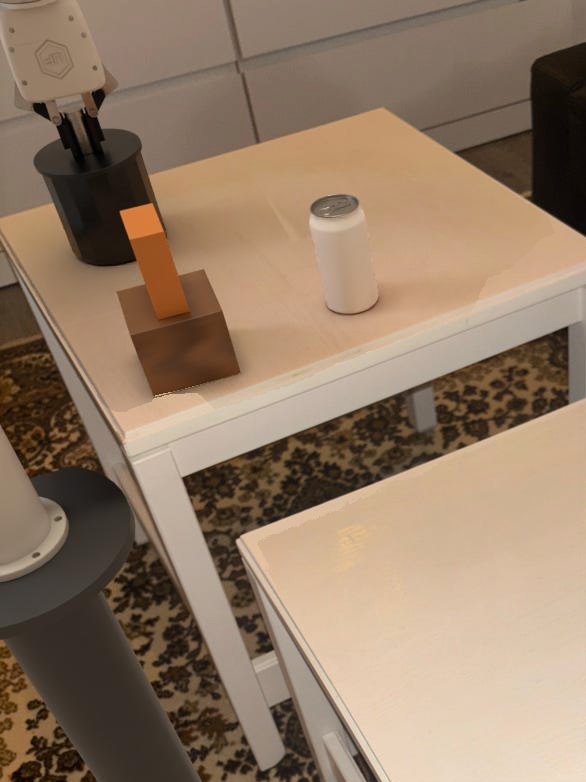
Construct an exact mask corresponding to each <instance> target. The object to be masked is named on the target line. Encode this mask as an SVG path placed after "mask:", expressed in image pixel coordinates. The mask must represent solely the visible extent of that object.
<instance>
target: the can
mask: <svg viewBox="0 0 586 782" xmlns="http://www.w3.org/2000/svg"><path fill="white" fill-rule="evenodd" d="M309 211H310V216H309V219H308V220H309V221H308V223H309V231H310V234H311V235H310V236H311V239H312V244H313V248H314V249H313V250H314V252H315V253H314V254H315V257H316V262H317V267H318V272H319V277H320V281H321V287H322V291H323V295H324V300H325V304H326V306H327V308H328V309H330V310H331V311H332V312H335V313H337V314H340V315H356V314H361V313H364V312H367V311H368V310H370V309H371V308H373V307H374V306H375V304H376V303H377V302H378V300H379V289H378V283H377V278H376V271H375V266H374V265H375V264H374V260H373V253H372V248H371V241H370V236H369V235H370V234H369V230H368V225H367V219H366V214H365V211H364V210H363V208H362V207H361V206H360V200H359V199H358V197H356V196H354V195H352V194H348V193H334V194H327V195H324V196H321V197H319V198H317V199H315V200H314V201H313V202H312V203H311V204H310V206H309Z"/></svg>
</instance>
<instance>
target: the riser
mask: <svg viewBox="0 0 586 782" xmlns="http://www.w3.org/2000/svg"><path fill="white" fill-rule="evenodd" d="M178 276H179V279H180V282H181V285H182V288H183V291H184V295H185V298H186V301H187V304H188V307H189V310H190V312H186V313H183V314H179V315H175V316H171V317H168V318H164V319H160V320H158V319H157V316H156V313H155V310H154V308H153V305H152V302H151V299H150V296H149V293H148V291H147V288H146V285H145V283H144V284H140V285H136V286H133V287H129V288H125V289H121V290H117V291H116V295H117V298H118V301H119V305H120V307H121V311H122V315H123V317H124V320H125V325H126V327H127V330H128V333H129V336H130V339H131V342H132V345H133V347H134V350H135V352H136V355H137V357H138V360H139V363H140V365H141V368H142V371H143V373H144V376H145V378H146V381H147V383H148V387H149V389H150V392H151V395H152V396H155V395H159V394H163V393H168V392H173V391H177V390H180V391H182V390H181V389H184V390H186V389H185V388H188V387H191V388H193V387H192V386H195V387H197V386H196V385H198V386H201V385H200V384H202V385H205V384H208V383H207V382H209V383H212V382H215V380H216V381H218V379H219V380H222V379H221V378H223V379H226V378H229V377H232V375H233V376H236V375H239V373H240V374H241V373H242V372H241V368H240V365H239V362H238V358H237V355H236V351H235V349H234V344H233V341H232V339H231V334H230V331H229V328H228V325H227V322H226V321H227V320H226V318H225V315H224V312H223V308H222V306H221V304H220V302H219V300H218V297H217V295H216V293H215V290H214V289H213V286H212V283H211V282H210V279H209V277H208V274H207V273H206V271H205V268H201V269H198V270H194V271H191V272H187V273H182V274H178ZM211 381H212V382H211ZM204 383H205V384H204ZM188 389H189V388H188ZM177 392H178V391H177ZM173 393H174V392H173Z"/></svg>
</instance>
